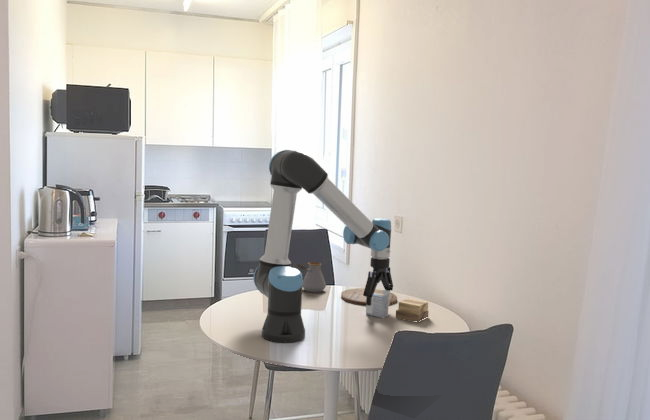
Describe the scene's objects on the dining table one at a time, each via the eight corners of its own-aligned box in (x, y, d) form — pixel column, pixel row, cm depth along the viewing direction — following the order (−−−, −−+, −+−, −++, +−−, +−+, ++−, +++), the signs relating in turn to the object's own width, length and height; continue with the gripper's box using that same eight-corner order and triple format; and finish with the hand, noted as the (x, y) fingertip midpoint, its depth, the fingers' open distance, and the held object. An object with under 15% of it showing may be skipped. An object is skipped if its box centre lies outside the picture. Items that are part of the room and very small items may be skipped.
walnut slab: (418, 324, 221) (418, 315, 221) (395, 318, 227) (395, 310, 227) (428, 319, 229) (428, 310, 228) (405, 314, 234) (406, 305, 234)
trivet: (338, 304, 244) (338, 300, 244) (343, 290, 269) (343, 286, 269) (397, 308, 241) (397, 304, 241) (396, 294, 266) (396, 290, 266)
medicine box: (388, 316, 229) (389, 295, 228) (383, 318, 225) (384, 297, 224) (370, 312, 233) (371, 291, 232) (365, 314, 229) (366, 293, 228)
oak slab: (418, 314, 222) (419, 306, 221) (398, 310, 227) (398, 301, 226) (427, 310, 228) (428, 302, 228) (407, 306, 233) (407, 298, 233)
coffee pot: (310, 286, 273) (311, 255, 271) (330, 290, 267) (332, 258, 265) (283, 294, 255) (285, 261, 253) (304, 299, 249) (306, 265, 247)
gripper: (372, 263, 214) (370, 318, 216) (402, 254, 235) (400, 304, 237) (355, 260, 218) (353, 314, 221) (386, 252, 239) (384, 301, 241)
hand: (377, 309), depth 229 cm, fingers open, 13 cm apart
